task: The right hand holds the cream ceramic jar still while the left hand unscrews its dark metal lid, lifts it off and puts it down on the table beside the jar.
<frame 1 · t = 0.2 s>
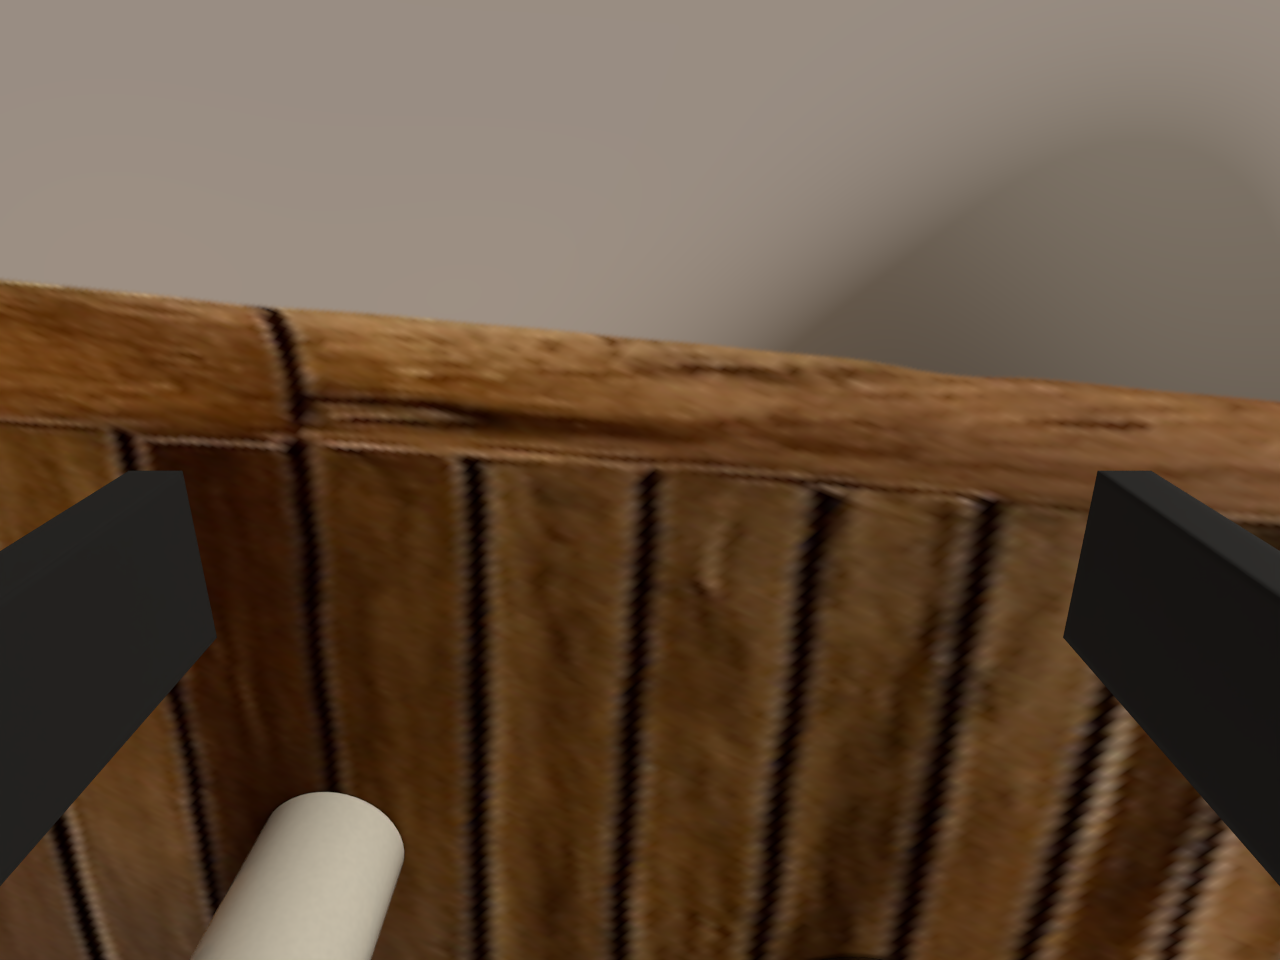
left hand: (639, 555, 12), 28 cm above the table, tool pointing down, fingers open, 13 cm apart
jar: (333, 847, 50), on the table
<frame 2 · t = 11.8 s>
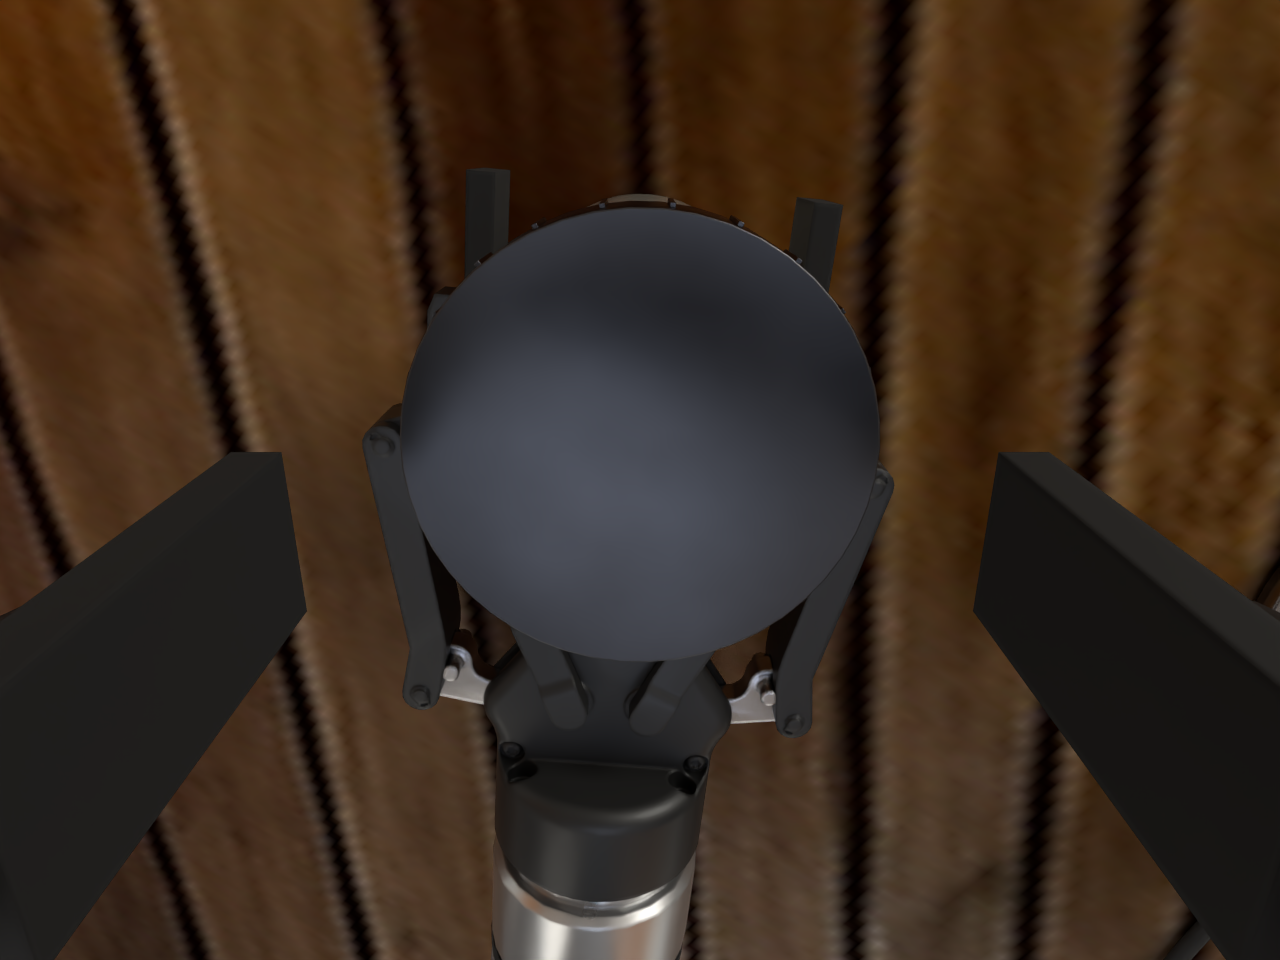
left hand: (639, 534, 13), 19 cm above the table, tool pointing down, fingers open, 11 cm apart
jar: (639, 314, 31), on the table, touching right hand
lid: (639, 451, 17), point 15 cm above the table, screwed on, not yet turned
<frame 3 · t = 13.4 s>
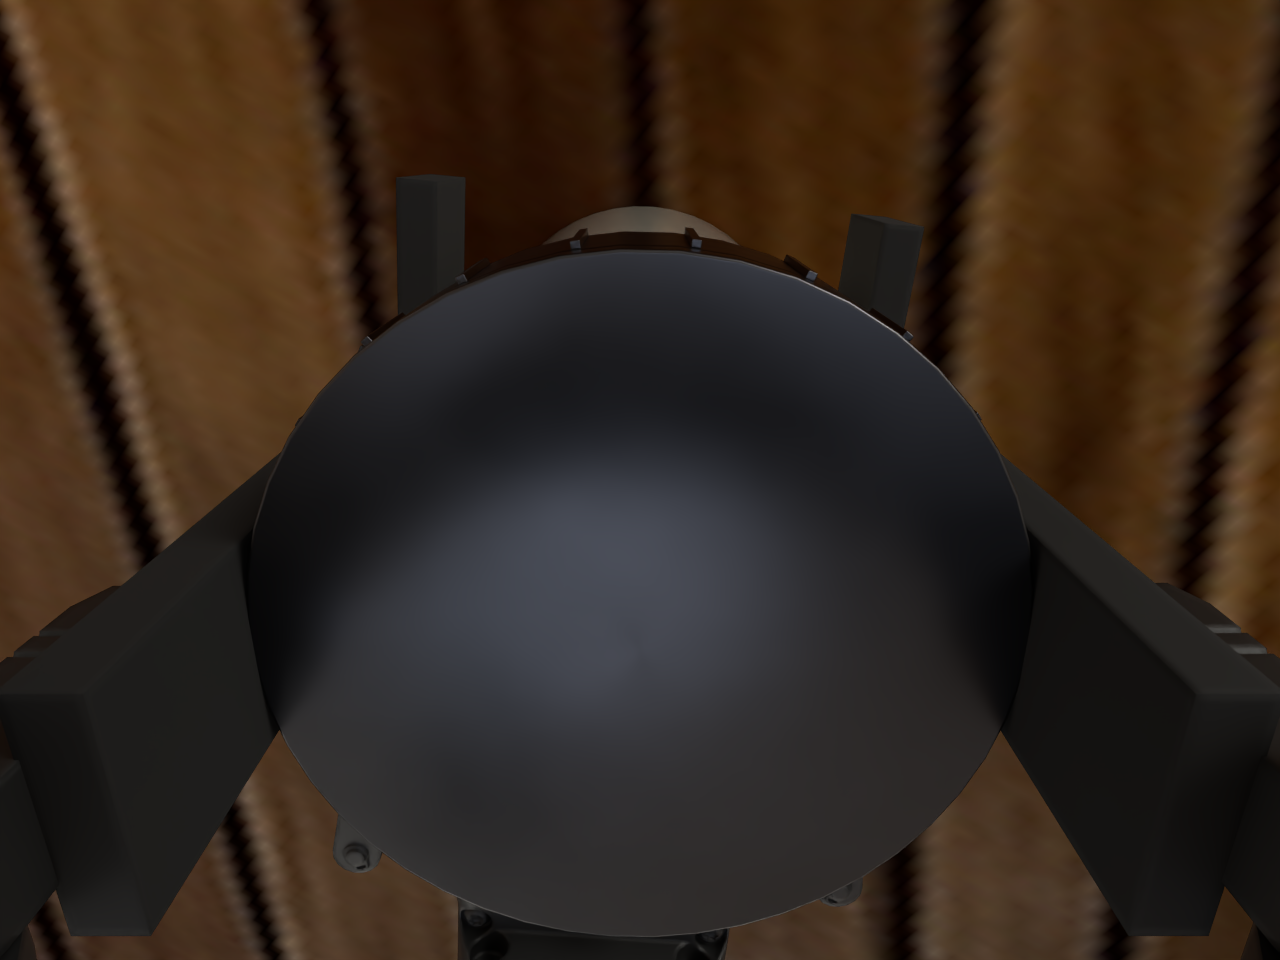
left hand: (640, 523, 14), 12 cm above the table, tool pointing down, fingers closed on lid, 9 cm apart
jar: (640, 357, 25), on the table, touching right hand
lid: (640, 634, 10), point 15 cm above the table, screwed on, not yet turned, touching left hand
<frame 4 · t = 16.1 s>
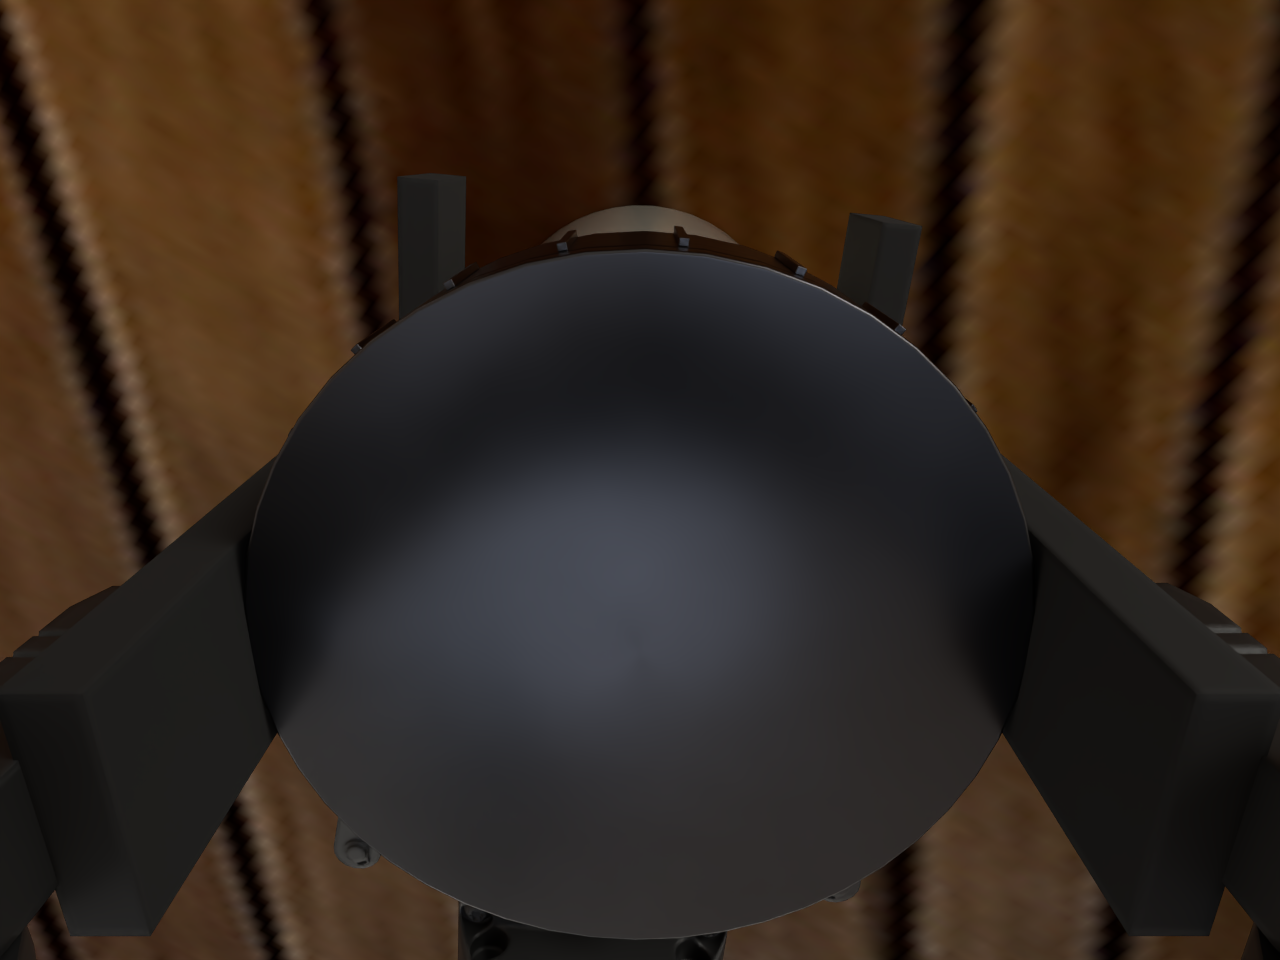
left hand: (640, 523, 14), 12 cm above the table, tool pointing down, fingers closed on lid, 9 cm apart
jar: (640, 355, 25), on the table, touching right hand
lid: (639, 636, 10), point 15 cm above the table, turned 64° so far, risen 0.2 cm, still on its thread, touching left hand
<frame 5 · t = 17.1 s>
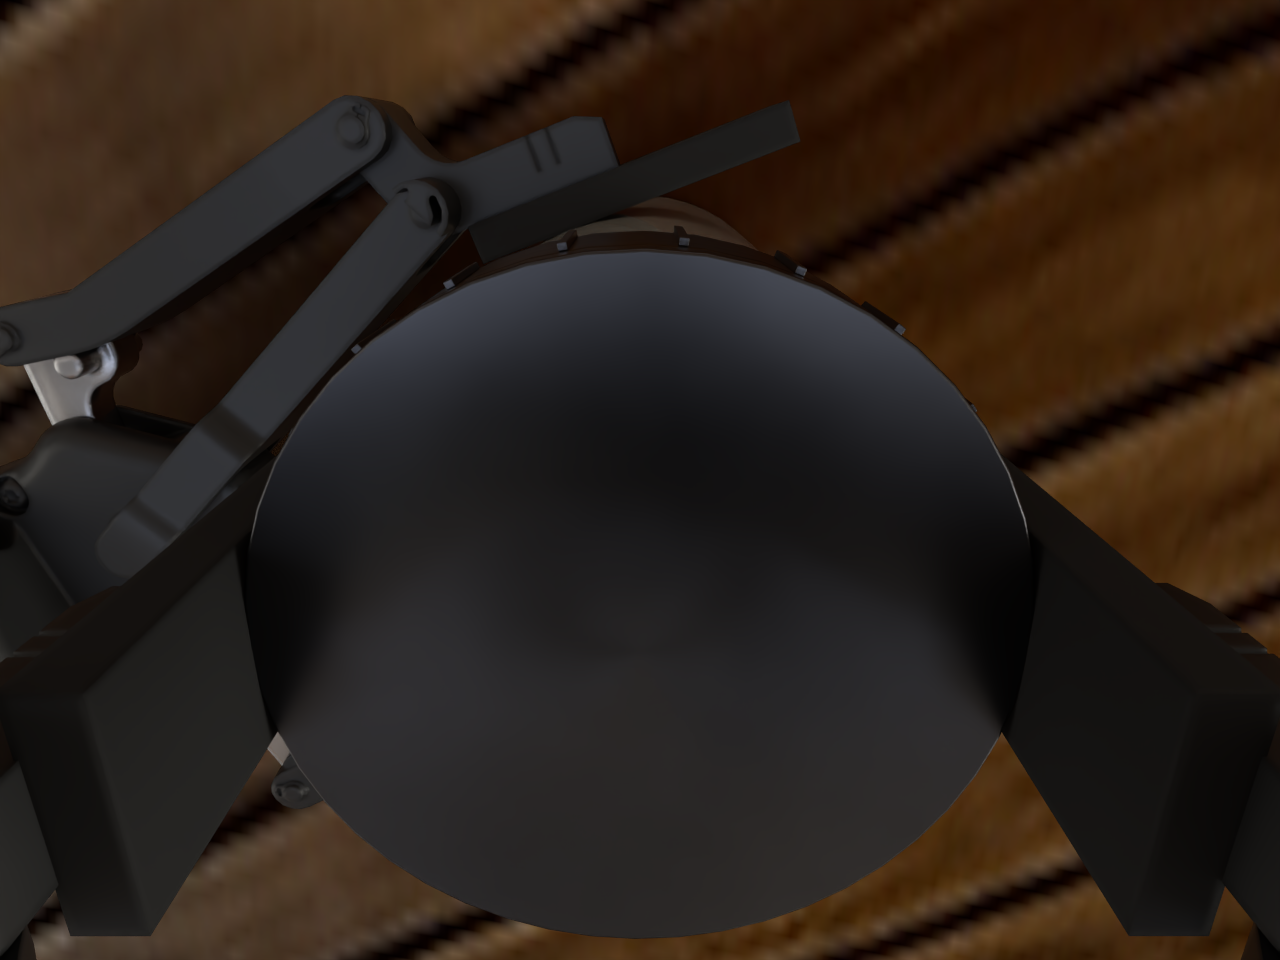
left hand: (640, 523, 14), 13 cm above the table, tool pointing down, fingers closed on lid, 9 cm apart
right hand: (842, 334, 19), fingers closed on jar, 8 cm apart
jar: (642, 343, 25), on the table, touching right hand
lid: (639, 635, 10), point 16 cm above the table, off its thread, touching left hand
when the left hand's fingers open (0 cm above the table, at t = 21.7 s): lid drops 2 cm, point 2 cm above the table.
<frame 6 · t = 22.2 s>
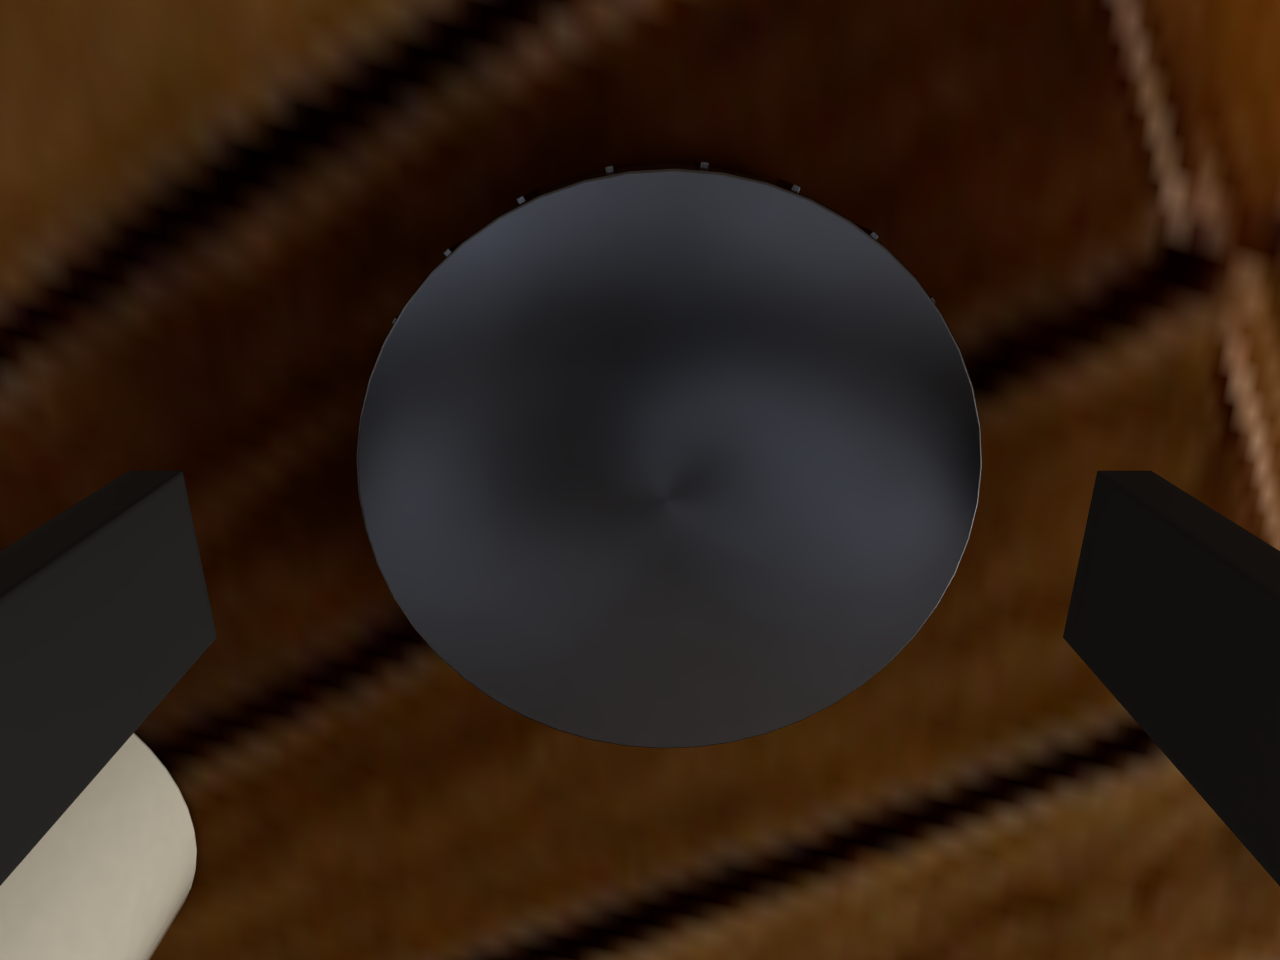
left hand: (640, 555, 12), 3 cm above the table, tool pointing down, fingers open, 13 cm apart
lid: (667, 489, 13), point 2 cm above the table, off its thread
when the right hand's fingers open (6 cm above the table, at t = 22.7 s): jar stays where it is, on the table.
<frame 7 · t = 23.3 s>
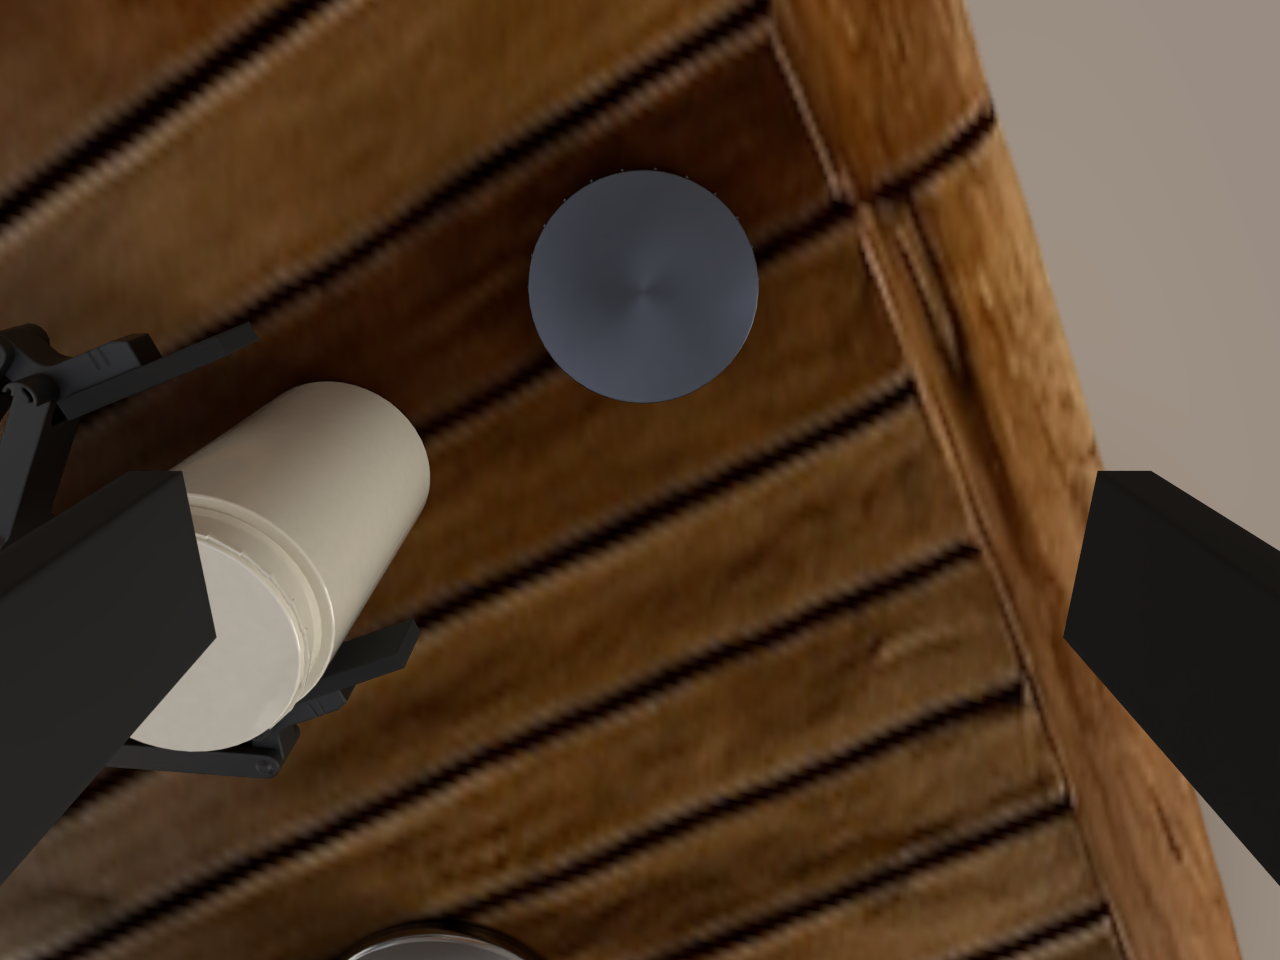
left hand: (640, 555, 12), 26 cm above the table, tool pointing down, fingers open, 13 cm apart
jar: (339, 469, 39), on the table
lid: (643, 291, 35), point 2 cm above the table, off its thread
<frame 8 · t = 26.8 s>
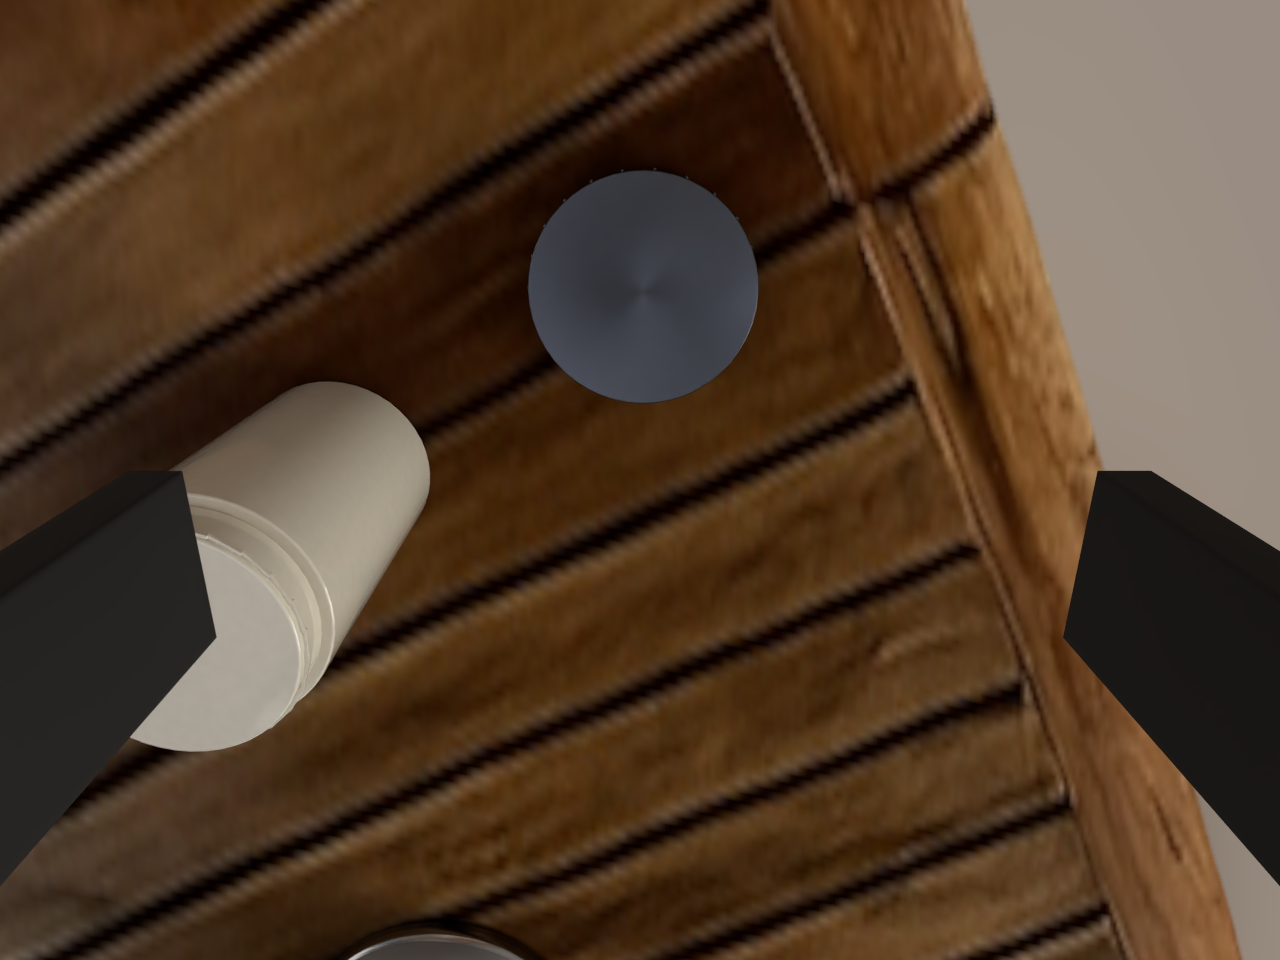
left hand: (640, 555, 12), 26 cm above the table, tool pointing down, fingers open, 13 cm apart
jar: (339, 469, 39), on the table
lid: (643, 291, 35), point 2 cm above the table, off its thread
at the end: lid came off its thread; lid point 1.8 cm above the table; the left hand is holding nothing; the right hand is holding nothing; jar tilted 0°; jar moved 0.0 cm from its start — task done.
